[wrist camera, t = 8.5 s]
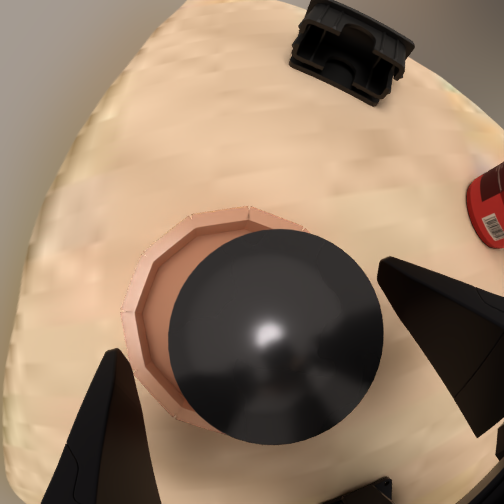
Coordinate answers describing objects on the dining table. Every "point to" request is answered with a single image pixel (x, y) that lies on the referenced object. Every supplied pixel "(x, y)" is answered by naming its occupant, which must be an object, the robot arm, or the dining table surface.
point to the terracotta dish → (167, 289)
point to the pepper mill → (275, 337)
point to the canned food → (488, 206)
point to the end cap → (349, 50)
